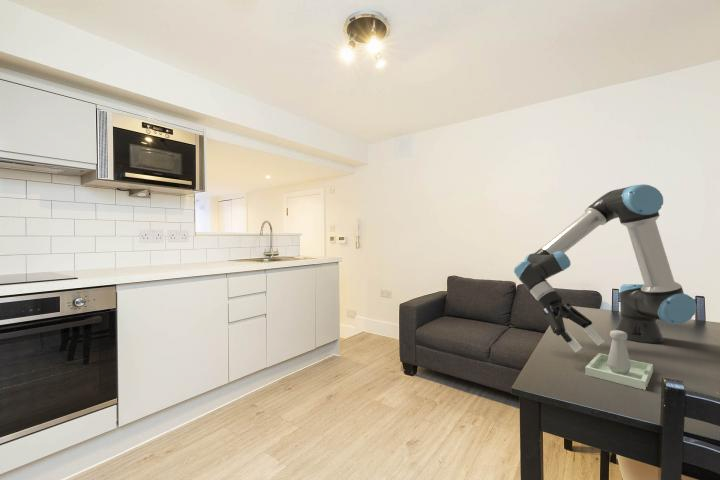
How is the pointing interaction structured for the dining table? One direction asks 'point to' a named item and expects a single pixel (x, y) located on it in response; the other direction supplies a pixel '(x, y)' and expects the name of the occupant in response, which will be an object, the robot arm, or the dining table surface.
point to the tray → (634, 378)
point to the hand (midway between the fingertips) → (590, 346)
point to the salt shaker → (618, 353)
